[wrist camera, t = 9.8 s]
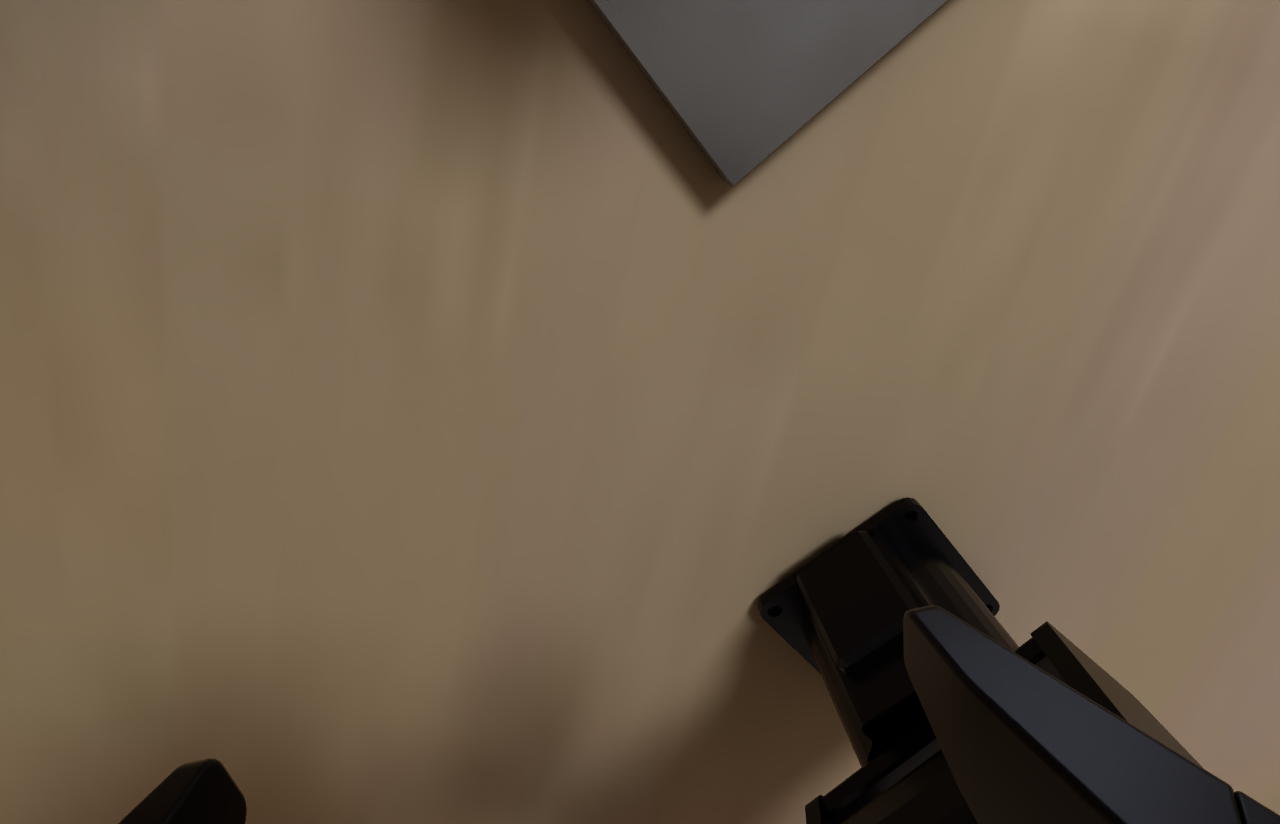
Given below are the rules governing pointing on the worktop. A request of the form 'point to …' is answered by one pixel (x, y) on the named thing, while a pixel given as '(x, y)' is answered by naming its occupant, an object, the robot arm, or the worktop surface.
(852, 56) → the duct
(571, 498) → the worktop surface
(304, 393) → the worktop surface
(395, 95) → the worktop surface
